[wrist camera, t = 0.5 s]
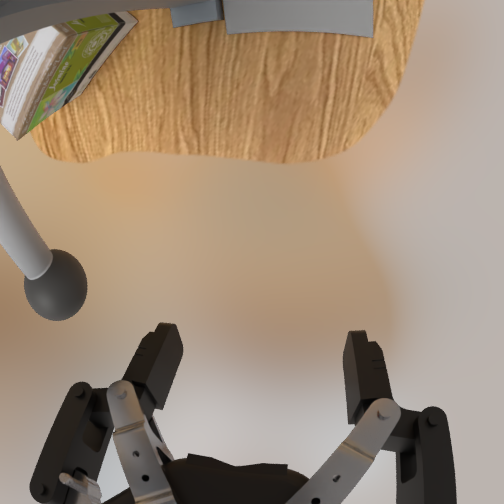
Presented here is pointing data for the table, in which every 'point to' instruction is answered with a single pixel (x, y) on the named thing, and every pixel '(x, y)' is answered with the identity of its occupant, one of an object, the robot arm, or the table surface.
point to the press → (183, 13)
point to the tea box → (54, 67)
